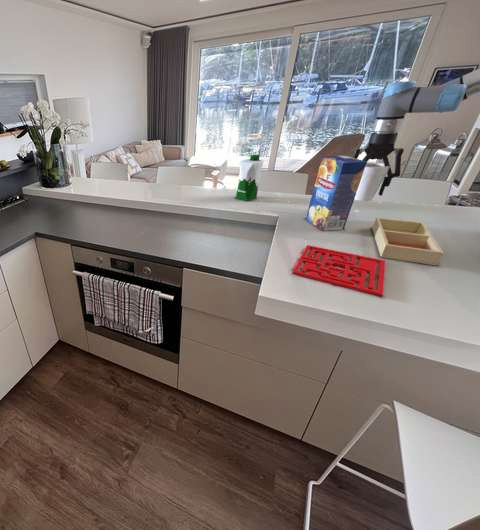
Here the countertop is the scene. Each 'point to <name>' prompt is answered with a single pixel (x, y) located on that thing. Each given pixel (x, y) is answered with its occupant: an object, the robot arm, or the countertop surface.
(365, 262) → the maze puzzle
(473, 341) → the countertop surface
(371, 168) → the foam cup
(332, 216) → the juice carton
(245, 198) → the milk carton
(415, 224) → the divided tray
